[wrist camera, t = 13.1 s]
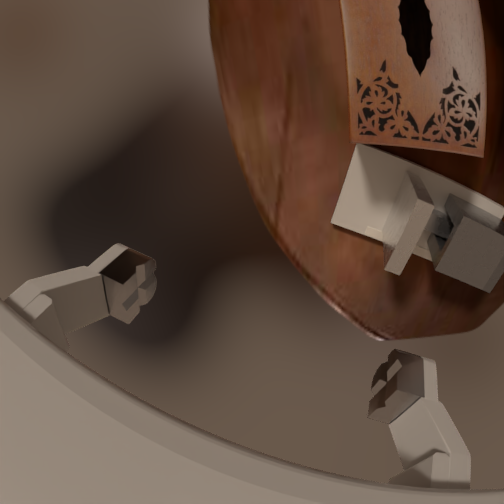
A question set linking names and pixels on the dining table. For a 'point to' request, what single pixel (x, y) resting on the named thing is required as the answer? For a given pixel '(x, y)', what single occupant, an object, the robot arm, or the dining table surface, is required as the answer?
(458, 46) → the tissue box cover
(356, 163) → the gauge board
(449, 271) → the box
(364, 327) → the dining table surface
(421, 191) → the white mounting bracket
